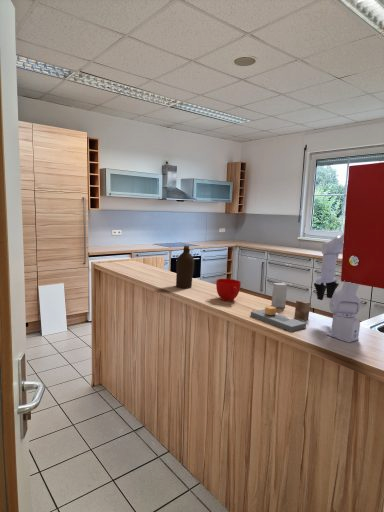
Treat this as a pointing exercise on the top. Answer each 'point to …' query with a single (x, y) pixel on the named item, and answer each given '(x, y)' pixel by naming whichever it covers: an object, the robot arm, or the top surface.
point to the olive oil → (184, 269)
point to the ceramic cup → (227, 288)
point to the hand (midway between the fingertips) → (324, 298)
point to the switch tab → (270, 310)
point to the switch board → (279, 320)
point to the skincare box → (279, 295)
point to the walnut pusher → (302, 310)
